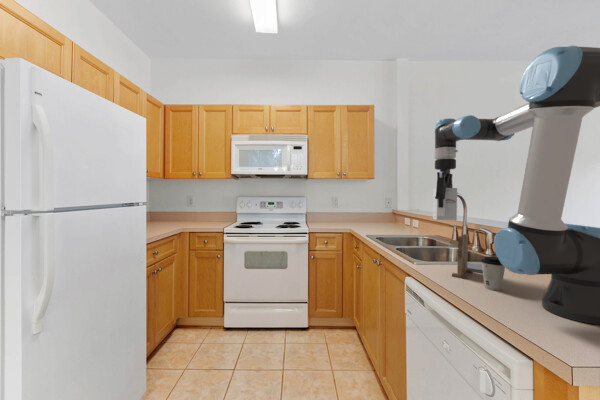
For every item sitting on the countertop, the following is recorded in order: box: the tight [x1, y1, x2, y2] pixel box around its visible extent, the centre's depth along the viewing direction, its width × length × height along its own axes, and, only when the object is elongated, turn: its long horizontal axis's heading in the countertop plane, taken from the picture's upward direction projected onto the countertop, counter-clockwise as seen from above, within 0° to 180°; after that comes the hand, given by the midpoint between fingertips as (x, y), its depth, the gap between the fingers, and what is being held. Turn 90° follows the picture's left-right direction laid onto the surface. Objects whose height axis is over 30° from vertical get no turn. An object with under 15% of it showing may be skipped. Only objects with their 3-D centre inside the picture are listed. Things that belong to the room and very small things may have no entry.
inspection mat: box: [467, 262, 483, 274], centre depth 119 cm, size 10×10×1 cm
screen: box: [451, 233, 474, 280], centre depth 112 cm, size 12×5×15 cm, turn 141°
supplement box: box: [432, 187, 458, 221], centre depth 116 cm, size 7×7×13 cm
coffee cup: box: [480, 256, 506, 292], centre depth 96 cm, size 7×7×10 cm
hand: (444, 215), depth 116 cm, fingers closed on supplement box, 9 cm apart
